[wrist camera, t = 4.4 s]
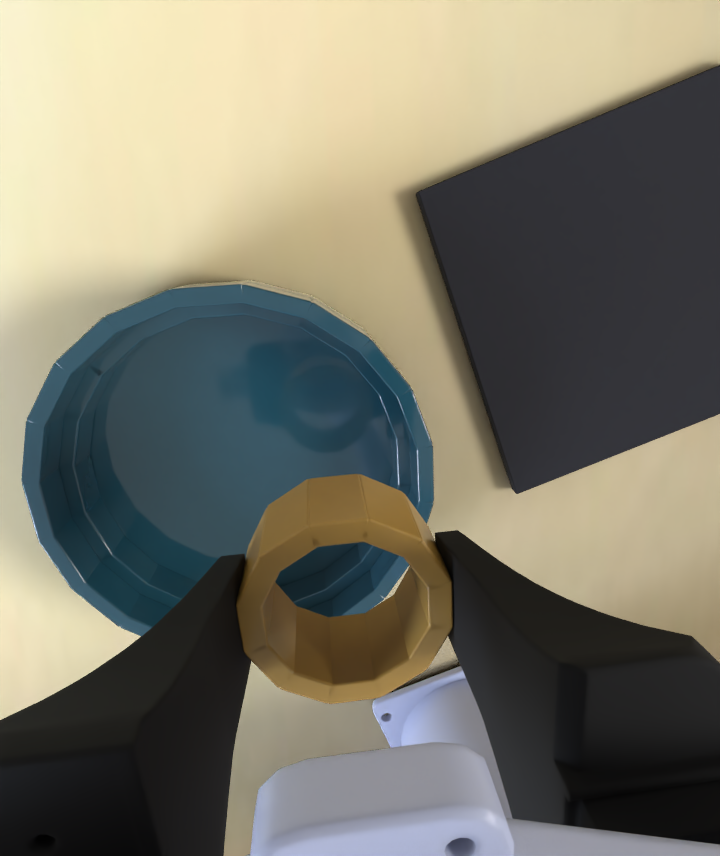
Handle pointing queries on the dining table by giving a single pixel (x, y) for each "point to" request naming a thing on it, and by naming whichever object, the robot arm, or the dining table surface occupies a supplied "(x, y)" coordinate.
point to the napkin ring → (350, 634)
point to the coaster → (591, 280)
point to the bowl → (214, 446)
